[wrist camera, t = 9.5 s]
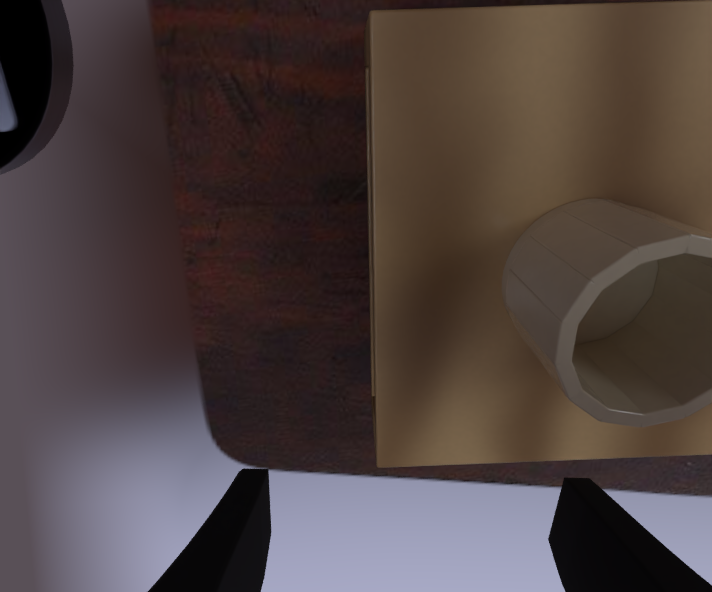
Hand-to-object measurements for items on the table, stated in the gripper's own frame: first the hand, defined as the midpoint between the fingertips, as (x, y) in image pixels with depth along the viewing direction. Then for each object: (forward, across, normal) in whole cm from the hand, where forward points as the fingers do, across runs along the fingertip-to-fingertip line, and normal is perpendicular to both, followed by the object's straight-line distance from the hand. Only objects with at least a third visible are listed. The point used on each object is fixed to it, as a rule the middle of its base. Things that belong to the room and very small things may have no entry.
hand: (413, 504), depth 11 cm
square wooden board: (+10, -6, -4) cm, 12 cm away
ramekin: (+6, -6, -4) cm, 9 cm away
